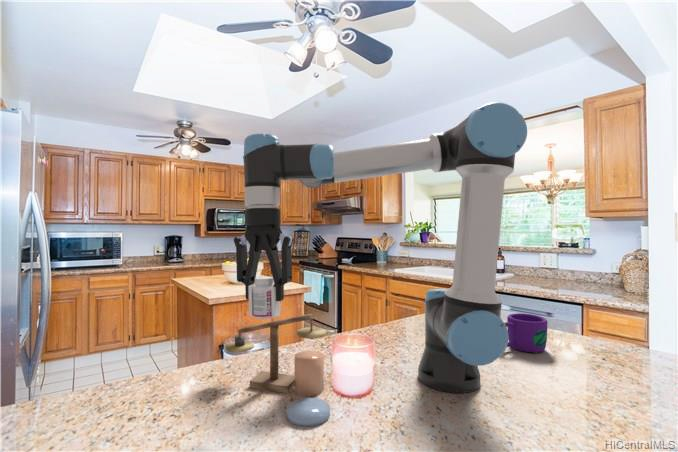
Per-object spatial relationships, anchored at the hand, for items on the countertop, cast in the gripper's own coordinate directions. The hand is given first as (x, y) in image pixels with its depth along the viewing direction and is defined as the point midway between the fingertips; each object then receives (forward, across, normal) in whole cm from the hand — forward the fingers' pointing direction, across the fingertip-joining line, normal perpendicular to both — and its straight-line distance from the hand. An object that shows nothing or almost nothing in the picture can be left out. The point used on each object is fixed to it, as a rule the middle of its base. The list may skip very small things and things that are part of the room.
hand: (265, 315), depth 76 cm
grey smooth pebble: (+20, -10, 0) cm, 22 cm away
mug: (+22, -59, -56) cm, 84 cm away
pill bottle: (+1, 0, 0) cm, 1 cm away
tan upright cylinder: (+20, -6, -10) cm, 23 cm away
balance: (+20, +3, -10) cm, 22 cm away
